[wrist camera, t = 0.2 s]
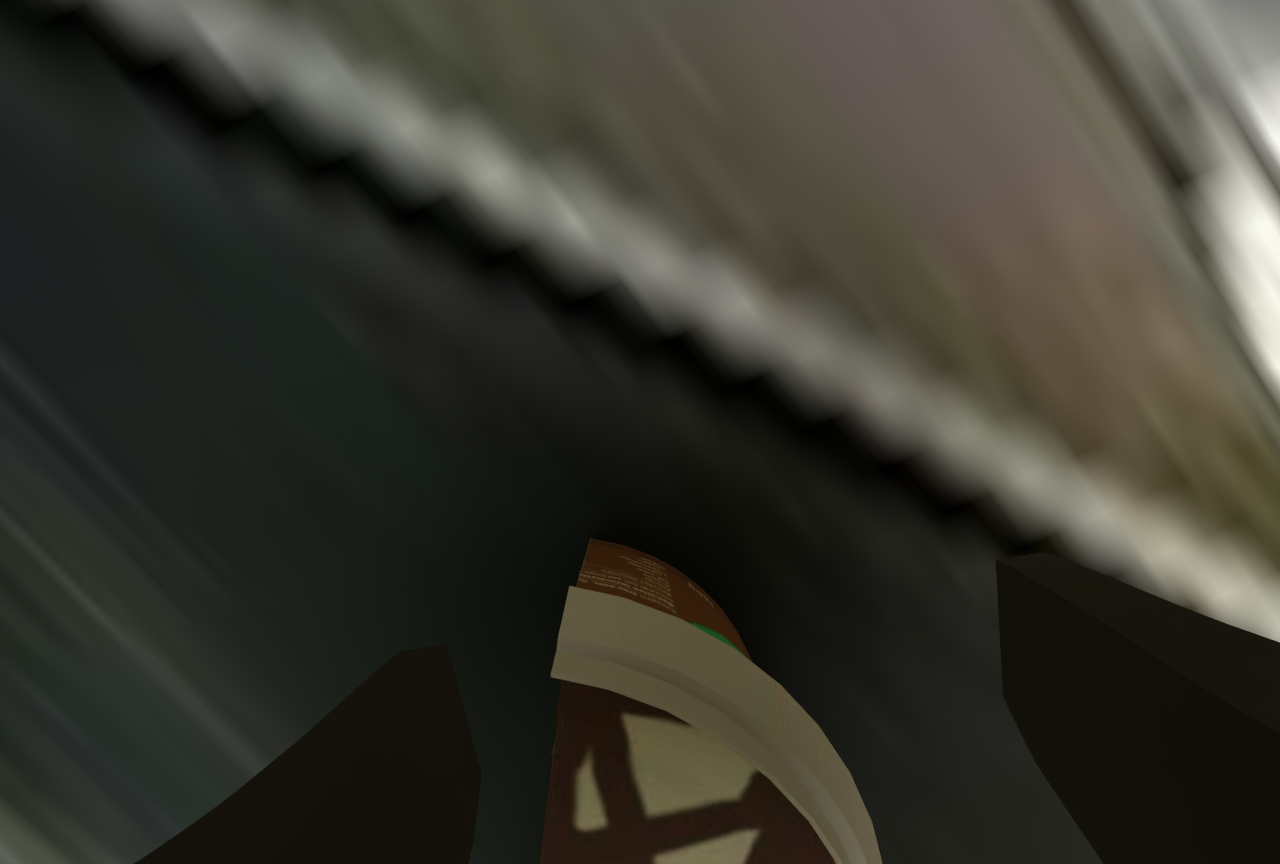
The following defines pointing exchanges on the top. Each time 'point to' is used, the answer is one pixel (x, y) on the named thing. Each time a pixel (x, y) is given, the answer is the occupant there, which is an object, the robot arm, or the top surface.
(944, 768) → the top surface
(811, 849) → the food container
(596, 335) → the top surface
